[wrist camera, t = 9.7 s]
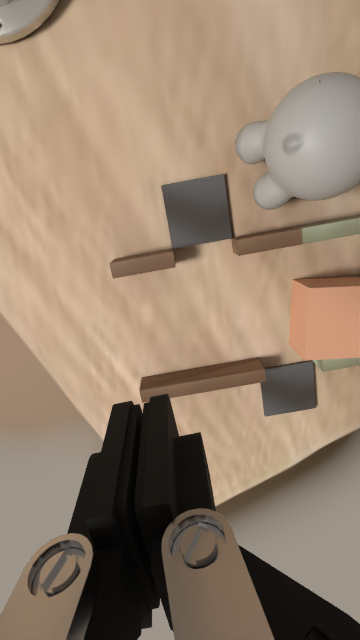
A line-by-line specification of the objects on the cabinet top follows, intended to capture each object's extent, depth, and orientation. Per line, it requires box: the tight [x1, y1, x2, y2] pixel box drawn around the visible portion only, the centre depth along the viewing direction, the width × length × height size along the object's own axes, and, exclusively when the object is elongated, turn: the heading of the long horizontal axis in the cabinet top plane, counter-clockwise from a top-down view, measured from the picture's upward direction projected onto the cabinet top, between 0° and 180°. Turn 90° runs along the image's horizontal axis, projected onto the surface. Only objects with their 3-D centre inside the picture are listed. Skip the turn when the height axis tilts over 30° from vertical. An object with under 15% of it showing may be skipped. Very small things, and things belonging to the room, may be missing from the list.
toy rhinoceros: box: [235, 72, 360, 210], centre depth 23 cm, size 7×12×8 cm, turn 111°
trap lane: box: [109, 174, 360, 416], centre depth 29 cm, size 22×22×2 cm
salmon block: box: [289, 276, 360, 360], centre depth 29 cm, size 6×6×4 cm
